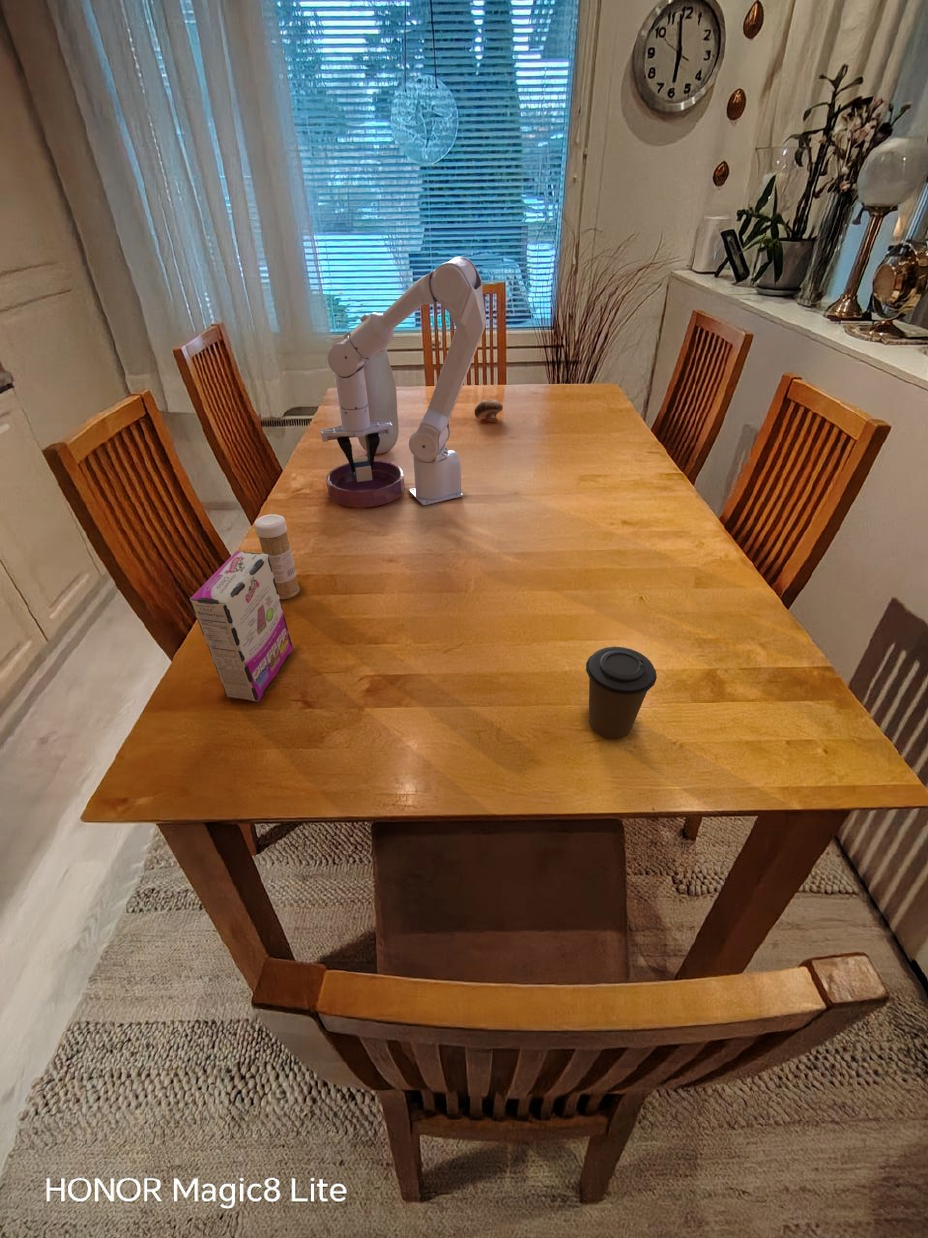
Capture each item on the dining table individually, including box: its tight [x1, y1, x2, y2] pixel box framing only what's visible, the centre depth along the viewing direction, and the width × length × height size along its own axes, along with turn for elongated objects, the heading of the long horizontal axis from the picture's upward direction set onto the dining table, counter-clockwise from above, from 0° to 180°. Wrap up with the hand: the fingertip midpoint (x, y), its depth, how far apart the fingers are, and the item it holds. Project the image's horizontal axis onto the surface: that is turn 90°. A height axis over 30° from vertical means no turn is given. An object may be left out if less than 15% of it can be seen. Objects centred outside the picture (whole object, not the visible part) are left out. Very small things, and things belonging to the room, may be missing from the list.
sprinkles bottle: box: [254, 513, 300, 600], centre depth 93 cm, size 5×5×14 cm
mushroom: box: [474, 398, 504, 423], centre depth 163 cm, size 8×8×6 cm
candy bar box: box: [189, 550, 294, 703], centre depth 77 cm, size 11×5×16 cm, turn 168°
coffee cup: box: [585, 646, 658, 740], centre depth 71 cm, size 8×8×10 cm
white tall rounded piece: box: [357, 345, 400, 455], centre depth 138 cm, size 10×10×28 cm
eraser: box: [353, 456, 372, 482], centre depth 126 cm, size 6×3×3 cm, turn 18°
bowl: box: [325, 460, 405, 508], centre depth 127 cm, size 16×16×4 cm
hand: (361, 469), depth 126 cm, fingers closed on eraser, 3 cm apart
